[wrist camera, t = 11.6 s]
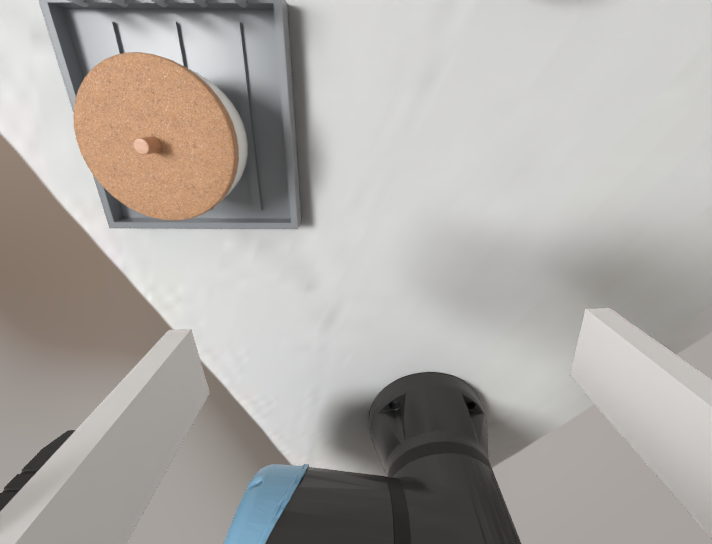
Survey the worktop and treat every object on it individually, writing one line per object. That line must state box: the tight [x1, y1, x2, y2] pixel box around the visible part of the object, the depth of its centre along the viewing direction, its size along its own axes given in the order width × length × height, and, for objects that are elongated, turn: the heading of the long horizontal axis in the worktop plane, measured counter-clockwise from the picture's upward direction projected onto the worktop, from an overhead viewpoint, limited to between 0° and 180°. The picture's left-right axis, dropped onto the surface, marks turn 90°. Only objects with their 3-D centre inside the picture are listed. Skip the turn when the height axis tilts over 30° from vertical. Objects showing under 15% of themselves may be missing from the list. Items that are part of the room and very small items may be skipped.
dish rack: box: [39, 0, 302, 229], centre depth 27 cm, size 18×18×9 cm
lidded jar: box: [74, 52, 248, 221], centre depth 26 cm, size 11×11×9 cm
